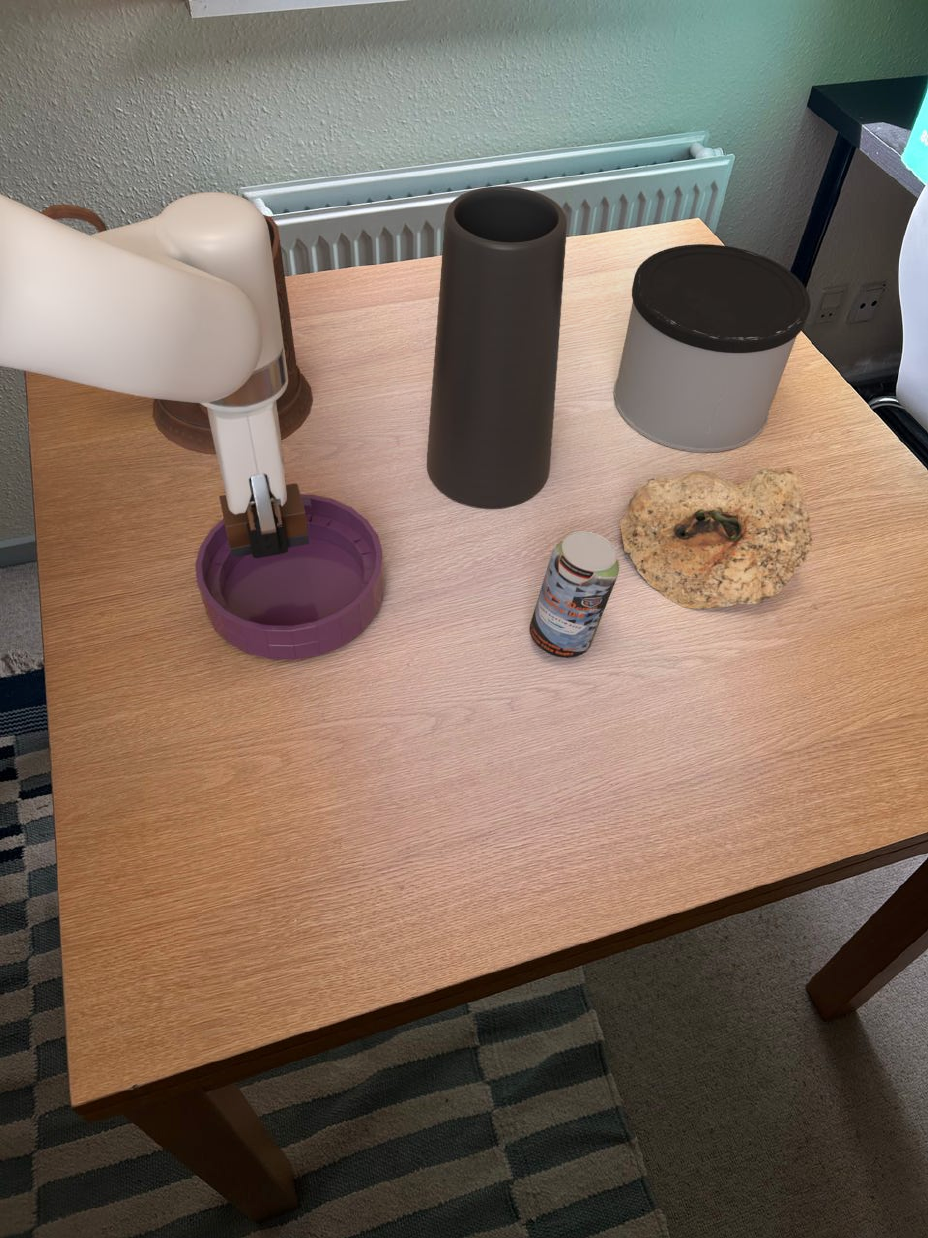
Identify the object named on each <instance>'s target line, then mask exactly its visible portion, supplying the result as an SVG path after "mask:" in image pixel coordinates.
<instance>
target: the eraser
mask: <svg viewBox="0 0 928 1238" xmlns="http://www.w3.org/2000/svg"><path fill="white" fill-rule="evenodd" d="M269 492H271V491H269ZM286 492H287V501H286V503H285V504H284V505H283V506H282V507H281V504H279V508H280V514H281V517H283V519H284V524H285V531H286V537H287V543H288V548H289V547H295V546H300V545H306V544H309V538H308V530H307V522H306V515H305V510H304V506H303V502H302V499H301V495H300V494H301V491H300V487H299V484H298V483H289V484H286ZM252 495H254V494H252ZM219 502H220V503H219V504H220V507H221V508H220V509H221V512H222V519H223V518H224V524H225V528H226V533H227V537H228V542H229V546H230V551H231V555H232V558H234V557H239V556H245V555H250V554H252V550H251V545H250V540H249V535H248V530H247V525H246V523H249V519H248V514H247V510H246V512H245V513H240V514H236V515H235V514H233V513H232V512H231V511H230V510H229V508H228V503H227V499H226V494H223V495H219ZM271 506H272V504H271ZM272 511H273V506H272ZM253 513H254V518H255V516H258V514H257V509H256V507H253ZM273 513H274V512H273Z"/></svg>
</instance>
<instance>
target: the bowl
mask: <svg viewBox="0 0 928 1238" xmlns="http://www.w3.org/2000/svg"><path fill="white" fill-rule="evenodd" d="M300 495H301V499H302V502H303V506H304V510H305V515H306V522H307V530H308V538H309V544H306V545H300V546H295V547H289V548H288V552H286V553H283V554H278V555H272V556H267V557H261V558H254V557H253V555H252V554H250V555H245V556H239V557H234V558H232V555H231V551H230V546H229V542H228V537H227V533H226V528H225V524H224V518H223V517H222V519H221V520H219V521H218V523H217V524H215V525H214V526H213V527H212V528H211V529H210V530H209V532H208V533H207V535H206V536H205V538H204V540H203V541H202V543H201V545H200V546H199V549H198V553H197V557H196V560H195V576H196V583H197V587H198V590H199V593H200V597H201V600H202V604H203V607H204V610H205V613H206V615H207V618H208V619H209V621H210V623H211V625H212V627H213V629H214V630H215V632H216V633H218V635H220V636H221V637H222V638H223V639H224V641H226V642H227V643H229V644H230V645H231V646H233V647H235V648H237V649H239V650H240V651H243V653H244V652H245V653H246V654H248V655H252V656H257V657H260V658H264V659H269V660H280V661H281V660H282V661H285V660H287V661H296V660H297V661H298V660H303V659H308V658H312V657H313V658H315V657H319V656H322V655H325V654H328V653H330V652H333V651H334V650H337V649H339V648H342V647H344V646H345V645H347V644H348V643H350V642H351V641H352V640H354V639H355V638H357V637H359V636H360V635H361V634H362V633H363V632H364V631H365V630H366V628H367V627H368V626H369V625H370V624H371V622H372V621H373V620H374V619H375V617H376V615H377V613H378V611H379V609H380V606H381V604H382V602H383V599H384V589H385V575H384V573H385V572H384V557H383V556H384V554H383V548H382V544H381V541H380V537H379V534H378V533H377V532H376V530H375V529H374V527H373V526H372V525H371V523H370V521H369V520H368V519H367V518H366V517H364V515H362V514H361V513H359V511H357V510H355V509H354V508H353V507H352V506H349V505H347V504H345V503H344V502H341V501H339V500H337V499H333V498H330V497H326V496H322V495H316V494H311V493H310V494H309V493H308V494H307V493H300Z"/></svg>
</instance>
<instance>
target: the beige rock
mask: <svg viewBox="0 0 928 1238" xmlns="http://www.w3.org/2000/svg"><path fill="white" fill-rule="evenodd" d="M802 478H803V475H802V474H801V473H800V472H799V471H797V470H796V469H794V468H793V467H784V468H774V469H773V468H771V467H768V466H765V467H762V468H760V469H759V470H758V471H757V472H756V473H755V474H753V475H752V476H751V477H749V478H748V479H747V480H746V482H744V483H741V484H736V483H734V482H733V481H730V480H728V479H727V478H723V477H722V476H720V475H718V474H716V473H714V472H710V471H705V470H696V471H692V472H688V473H686V474H685V475H683V476H679V477H678V478H672V477H671V478H670V477H659V478H658V479H656V478H650V479H647V480H646V481H645V483H644V484H643V483H641V484H640V485H639V486H637V488H636V489H635V490H634V492H633V493H632V494H633V495H632V497H630V499H629V503H628V507H627V511H626V514H625V515H624V517H623V518H621V519H619V525H620V526H619V527H620V532H621V539H622V544H623V550H624V553H625V554H626V553H628V554H629V556H630V559H631V560H632V563H633V564H634V566H635V567H636V571H637V572H638V574H639V575H640V576H641V577H642V579H644V580H645V581H646V582H647V584H648V585H649V586H651V587H652V588H653V589H655V591H659V592H660V594H661V595H663V596H664V597H665V598H666V599H667V600H670V601H672V602H673V603H677V604H678V605H679V606H681V607H683V608H684V609H686V608H688V609H699V610H707V609H715V608H722V607H723V608H724V607H732V606H735V605H757V604H763V603H764V602H765V600H768V599H770V598H772V597H773V596H775V595H778V594H779V593H780V592H781V591H782V590H783V588H784V586H786V585H787V583H788V582H789V580H790V579H791V578H792V577H793V575H794V573H795V571H797V570H798V568H799V567H801V566H802V564H803V563H805V562H806V560H807V555H808V554H809V552H810V550H811V548H812V545H813V541H814V540H813V534H812V531H811V526H810V521H811V520H810V519H811V518H810V515H809V510H808V508H807V507H806V506H807V503H806V500H805V499H806V498H805V497H806V495H807V494H806V491H805V489H804V486H803V482H802V480H803V479H802ZM642 484H643V485H642Z"/></svg>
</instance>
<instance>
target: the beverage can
mask: <svg viewBox="0 0 928 1238" xmlns="http://www.w3.org/2000/svg"><path fill="white" fill-rule="evenodd" d="M619 573H620V564H619V559H618V552H617V549H616V547H615V545H614V544H613V543H612V542H611V541H610V540H609V539H608V538H607V537H604V536H602V535H600V534H598V533H595V532H593V531H592V532H591V531H587V530H579V531H578V530H577V531H573V532H570V533H568V534H567V535H565V537H563V539H562V540H561V541H559V542H558V543H557V544H556V545H555V546H554V548H553V549H552V552H551V555H550V557H549V561H548V565H547V568H546V571H545V574H544V578H543V581H542V584H541V588H540V591H539V594H538V597H537V600H536V603H535V607H534V610H533V613H532V617H531V620H530V623H529V629H528V630H529V635H530V637H531V639H532V641H533V643H534V644H535V645H536V646H537V647H538V648H539V649H541V651H544V652H545V653H547V654H549V655H550V656H554V657H558V658H564V659H570V658H577V657H579V656H582V655H583V654H585V653H586V652H587V651H589V649H590V648H591V646H592V644H593V641H594V638H595V635H596V634H597V630H598V628H599V625H600V623H601V620H602V617H603V615H604V612H605V610H606V607H607V604H608V602H609V599H610V597H611V594H612V592H613V589H614V586H615V584H616V581H617V579H618V577H619Z"/></svg>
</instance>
